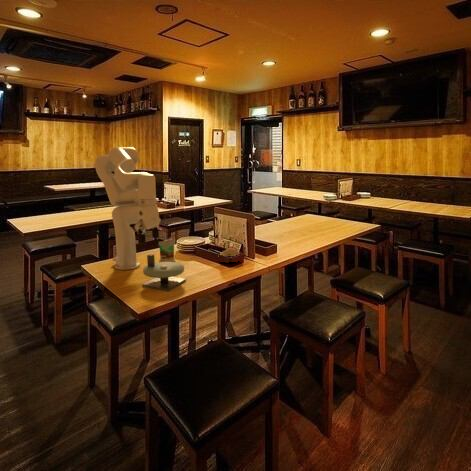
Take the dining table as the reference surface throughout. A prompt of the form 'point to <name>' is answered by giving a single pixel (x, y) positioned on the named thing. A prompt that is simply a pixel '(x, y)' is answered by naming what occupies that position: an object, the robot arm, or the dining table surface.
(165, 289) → the wheel stand
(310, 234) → the dining table surface
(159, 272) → the handwheel
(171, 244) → the food container
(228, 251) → the decorative item
